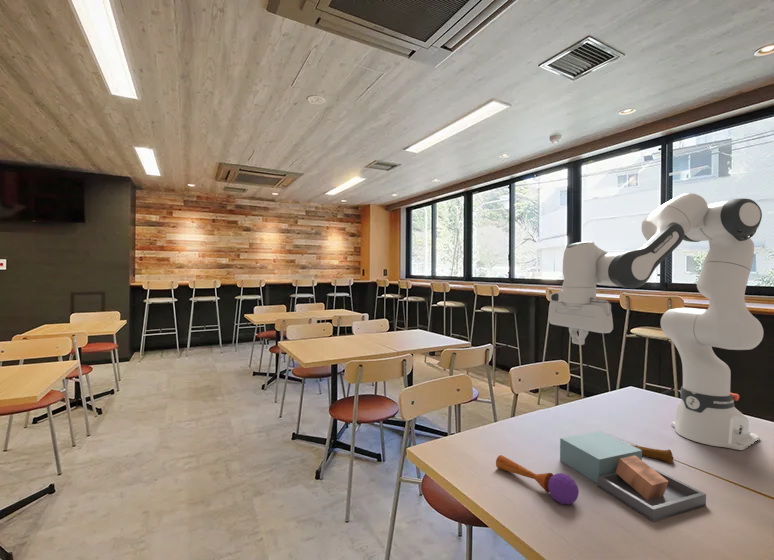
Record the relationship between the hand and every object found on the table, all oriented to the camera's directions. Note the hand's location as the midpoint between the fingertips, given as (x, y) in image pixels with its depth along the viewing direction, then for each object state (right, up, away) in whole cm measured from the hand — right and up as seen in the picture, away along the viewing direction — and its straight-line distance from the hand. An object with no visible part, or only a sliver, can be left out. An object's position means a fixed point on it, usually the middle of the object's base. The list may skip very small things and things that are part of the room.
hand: (578, 343), depth 110 cm
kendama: (-21, -30, -22) cm, 43 cm away
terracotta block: (+1, -25, -21) cm, 33 cm away
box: (+3, -30, -26) cm, 39 cm away
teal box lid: (-1, -29, -14) cm, 32 cm away
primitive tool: (+12, -30, -5) cm, 33 cm away
